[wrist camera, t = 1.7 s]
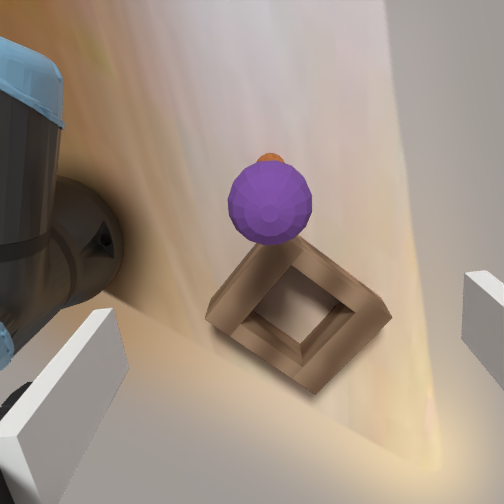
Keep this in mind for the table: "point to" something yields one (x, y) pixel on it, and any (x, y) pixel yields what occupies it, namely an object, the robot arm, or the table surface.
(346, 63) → the table surface
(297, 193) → the kendama
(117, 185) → the table surface
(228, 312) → the socket block
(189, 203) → the table surface
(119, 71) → the table surface
